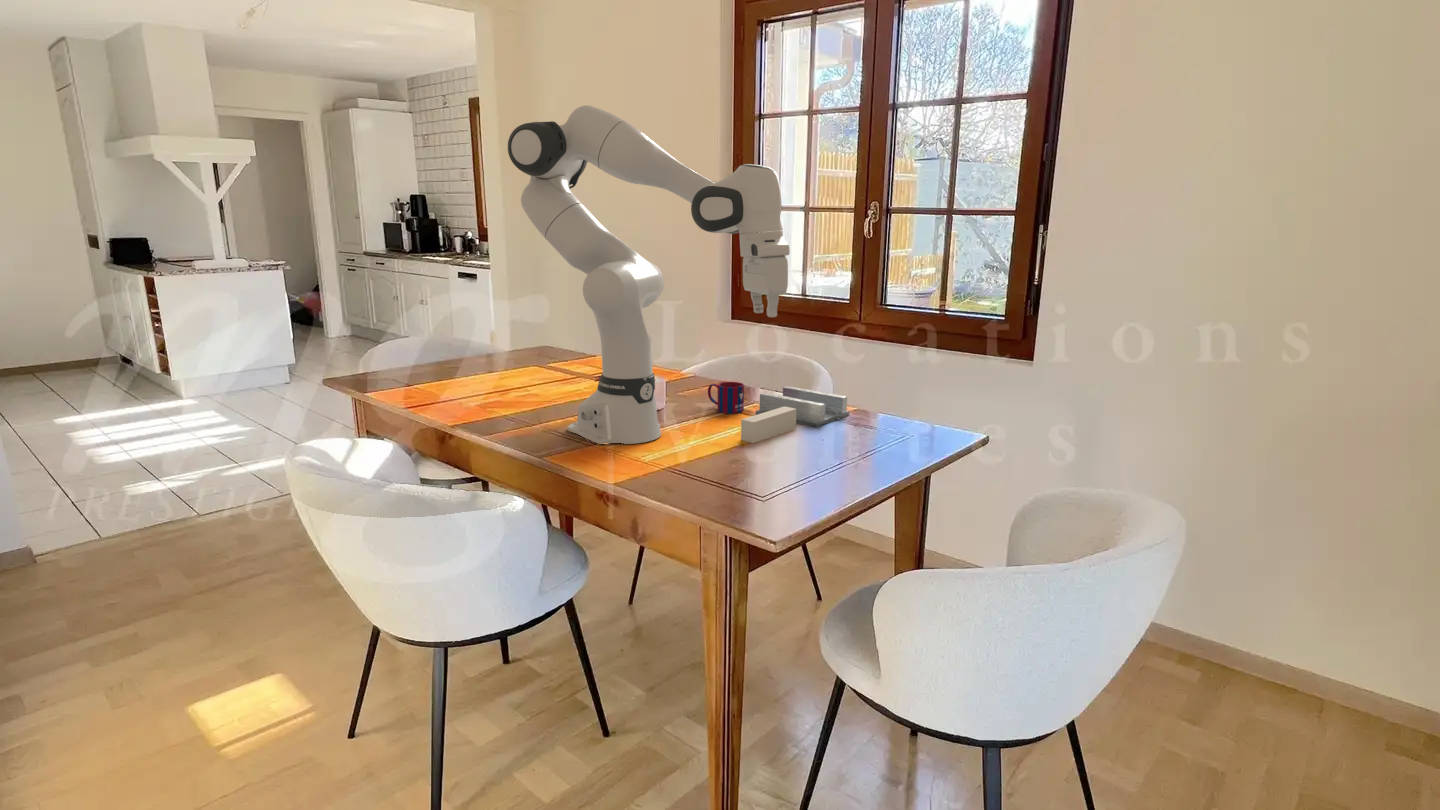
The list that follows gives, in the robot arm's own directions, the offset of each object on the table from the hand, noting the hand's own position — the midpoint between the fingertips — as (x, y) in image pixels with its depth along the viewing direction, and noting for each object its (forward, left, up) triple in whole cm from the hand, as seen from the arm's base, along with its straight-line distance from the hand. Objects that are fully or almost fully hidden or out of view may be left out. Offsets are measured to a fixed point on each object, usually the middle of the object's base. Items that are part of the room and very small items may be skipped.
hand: (765, 314), depth 161 cm
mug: (-27, +20, -29) cm, 44 cm away
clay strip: (-5, +9, -29) cm, 31 cm away
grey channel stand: (-9, +28, -29) cm, 41 cm away
